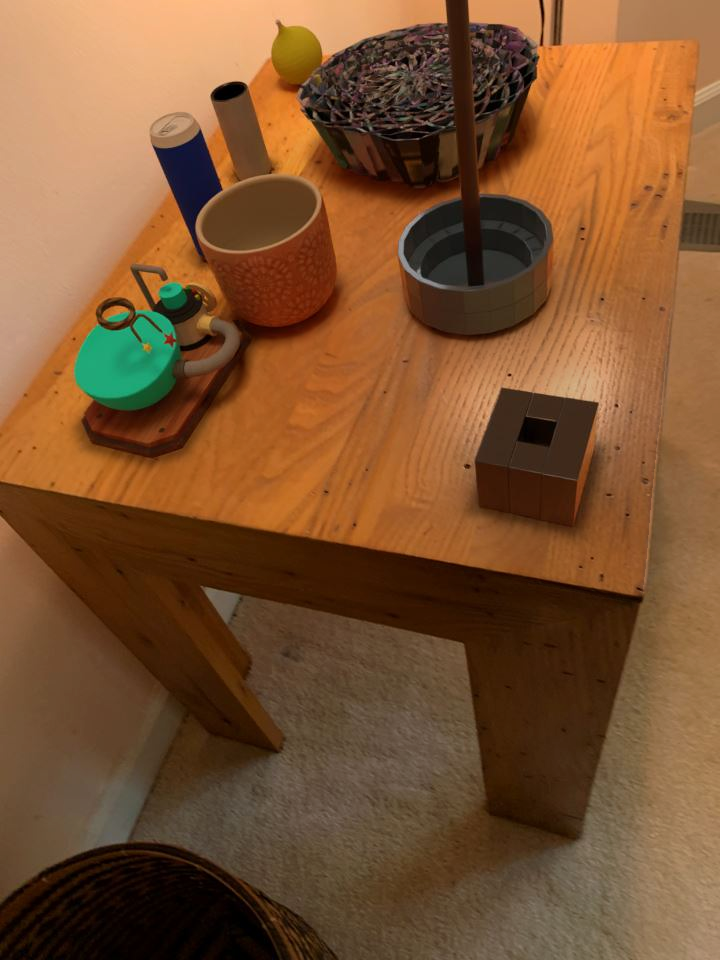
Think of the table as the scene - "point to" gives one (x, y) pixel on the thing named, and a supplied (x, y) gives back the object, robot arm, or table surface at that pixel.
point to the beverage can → (185, 165)
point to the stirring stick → (465, 135)
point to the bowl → (506, 261)
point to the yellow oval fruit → (295, 53)
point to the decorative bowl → (417, 100)
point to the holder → (536, 455)
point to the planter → (270, 248)
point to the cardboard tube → (241, 129)
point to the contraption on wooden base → (155, 367)
